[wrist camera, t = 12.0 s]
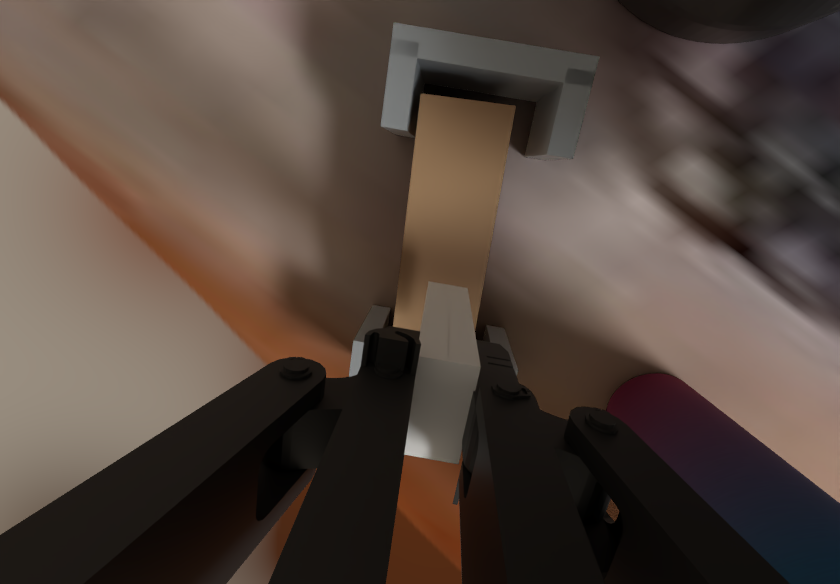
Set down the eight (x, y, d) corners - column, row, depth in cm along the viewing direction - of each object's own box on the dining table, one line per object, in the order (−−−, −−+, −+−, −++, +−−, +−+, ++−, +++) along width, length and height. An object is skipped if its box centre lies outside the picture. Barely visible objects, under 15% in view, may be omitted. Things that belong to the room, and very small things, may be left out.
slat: (427, 109, 21) (420, 93, 16) (500, 119, 21) (515, 105, 16) (399, 334, 24) (386, 376, 19) (462, 343, 24) (464, 388, 19)
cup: (575, 380, 24) (761, 698, 10) (699, 341, 23) (1116, 638, 9) (606, 474, 26) (805, 865, 11) (723, 443, 25) (1108, 833, 10)
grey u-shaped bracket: (544, 160, 21) (572, 158, 16) (396, 134, 21) (380, 126, 16) (563, 82, 20) (599, 56, 15) (407, 56, 20) (393, 22, 15)
